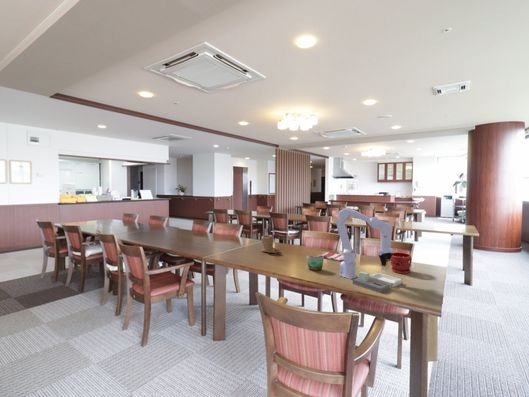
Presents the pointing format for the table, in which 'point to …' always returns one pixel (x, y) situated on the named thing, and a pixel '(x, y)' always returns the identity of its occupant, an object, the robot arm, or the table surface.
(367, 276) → the fuse
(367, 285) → the grey flat slab
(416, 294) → the table surface
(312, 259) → the food container
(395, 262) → the plant pot
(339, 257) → the dish towel
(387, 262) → the fuse
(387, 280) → the parts tray
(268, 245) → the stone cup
